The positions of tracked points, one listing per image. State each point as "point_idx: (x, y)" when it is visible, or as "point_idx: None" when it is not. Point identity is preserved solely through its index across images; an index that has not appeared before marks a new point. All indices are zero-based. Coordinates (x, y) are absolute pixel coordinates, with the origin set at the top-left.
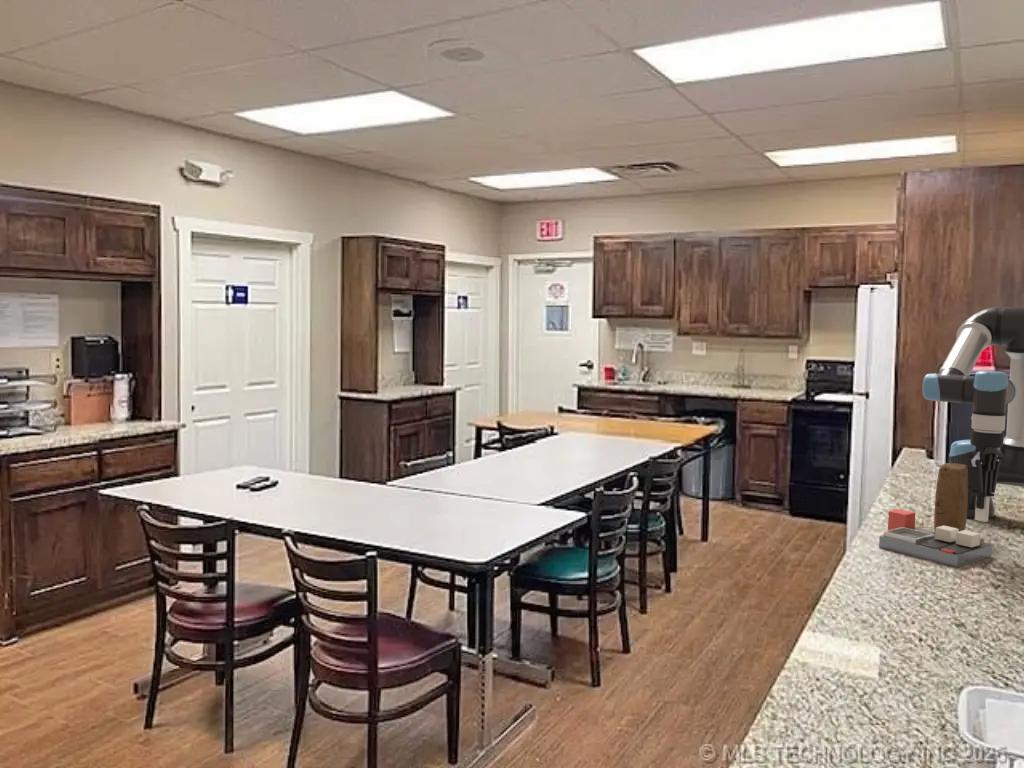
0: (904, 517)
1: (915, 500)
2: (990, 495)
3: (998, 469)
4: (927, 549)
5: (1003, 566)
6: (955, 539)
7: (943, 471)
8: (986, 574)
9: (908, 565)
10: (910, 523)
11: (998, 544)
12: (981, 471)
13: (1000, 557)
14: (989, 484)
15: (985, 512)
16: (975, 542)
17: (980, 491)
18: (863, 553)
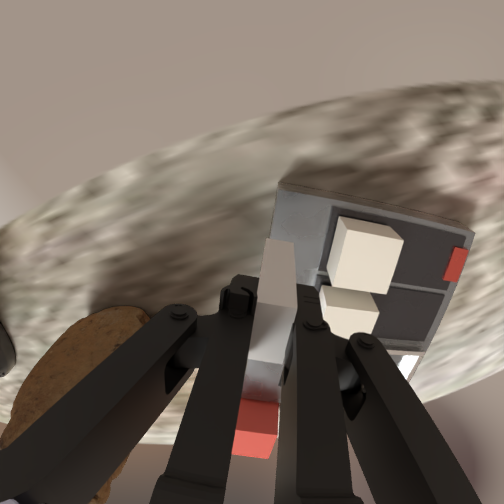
0: (276, 430)
1: (8, 398)
2: (251, 303)
3: (45, 425)
4: (443, 310)
5: (366, 125)
6: (339, 289)
7: (103, 495)
8: (470, 148)
9: (491, 302)
10: (251, 410)
11: (118, 214)
12: (446, 491)
13: (265, 158)
14: (243, 370)
15: (294, 263)
16: (370, 225)
17: (386, 355)
18: (447, 384)
